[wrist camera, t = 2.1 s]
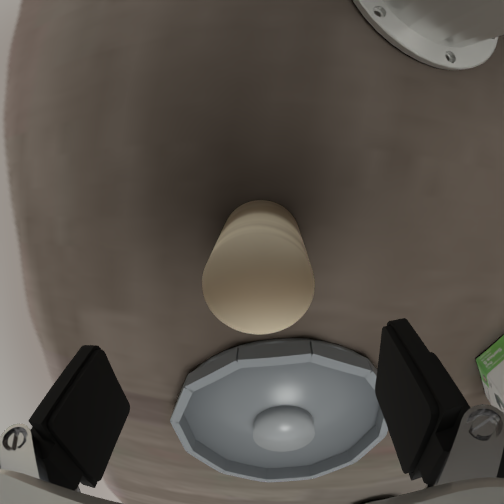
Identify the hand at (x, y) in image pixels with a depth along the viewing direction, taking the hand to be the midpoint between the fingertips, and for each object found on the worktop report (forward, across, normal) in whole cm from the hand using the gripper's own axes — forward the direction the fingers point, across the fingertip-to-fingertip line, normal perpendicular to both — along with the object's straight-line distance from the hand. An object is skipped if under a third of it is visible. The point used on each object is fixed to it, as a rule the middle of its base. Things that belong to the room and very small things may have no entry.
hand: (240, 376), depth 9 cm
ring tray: (+12, -1, +17) cm, 21 cm away
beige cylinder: (+12, -1, -1) cm, 12 cm away
